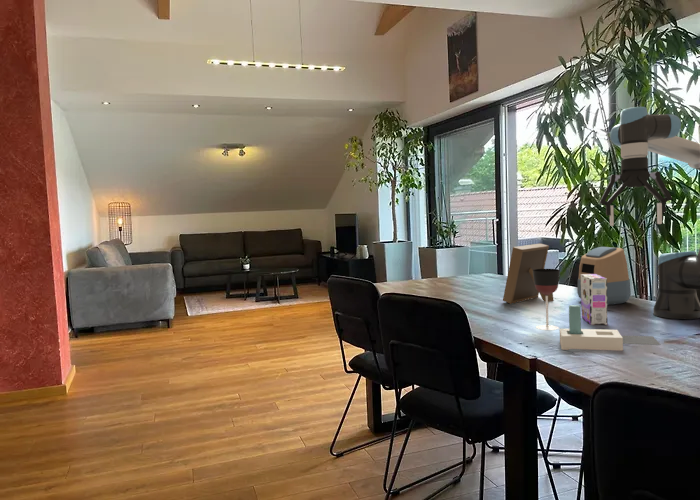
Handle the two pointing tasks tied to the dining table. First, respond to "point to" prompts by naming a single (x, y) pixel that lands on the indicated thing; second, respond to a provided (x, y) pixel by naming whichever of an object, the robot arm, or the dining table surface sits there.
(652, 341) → the mat
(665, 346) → the dining table surface
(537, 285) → the wineglass
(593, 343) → the hole block
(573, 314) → the peg
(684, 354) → the dining table surface
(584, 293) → the candy box
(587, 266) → the tan and grey appliance
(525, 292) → the photo frame
